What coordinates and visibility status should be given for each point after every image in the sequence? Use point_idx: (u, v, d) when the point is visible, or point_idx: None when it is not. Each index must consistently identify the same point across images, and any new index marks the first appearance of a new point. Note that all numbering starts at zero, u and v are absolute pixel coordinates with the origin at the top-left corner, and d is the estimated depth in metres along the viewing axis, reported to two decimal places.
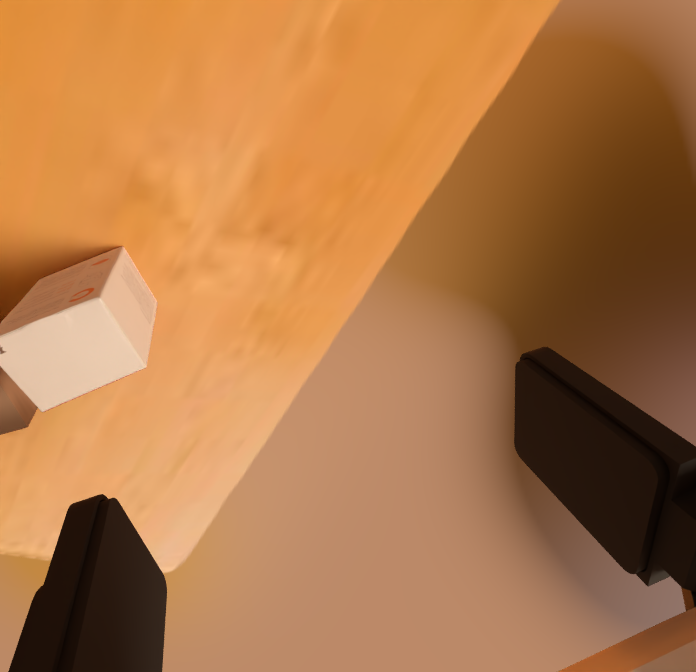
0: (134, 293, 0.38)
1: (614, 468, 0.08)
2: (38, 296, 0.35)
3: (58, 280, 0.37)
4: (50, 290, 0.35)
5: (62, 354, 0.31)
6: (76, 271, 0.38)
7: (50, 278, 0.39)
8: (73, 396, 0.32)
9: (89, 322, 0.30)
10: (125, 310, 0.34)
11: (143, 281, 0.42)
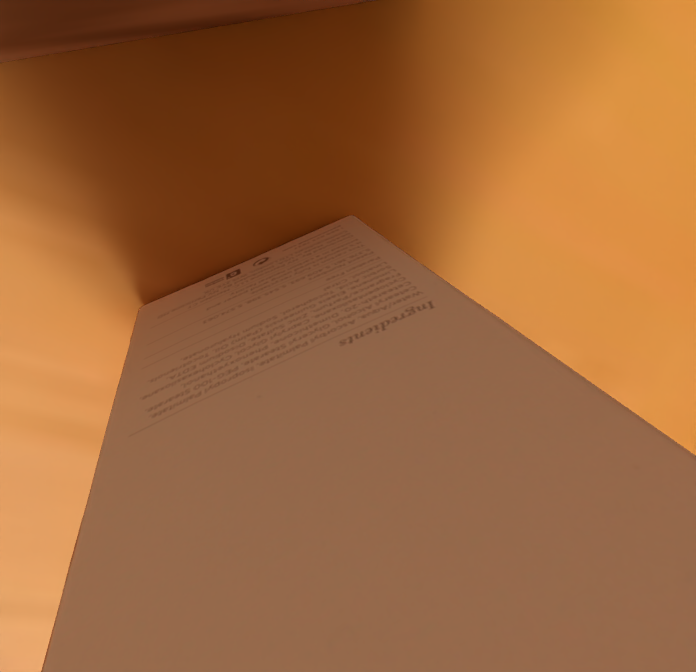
0: None
1: None
2: None
3: None
4: None
5: None
6: None
7: None
8: None
9: None
10: None
11: None
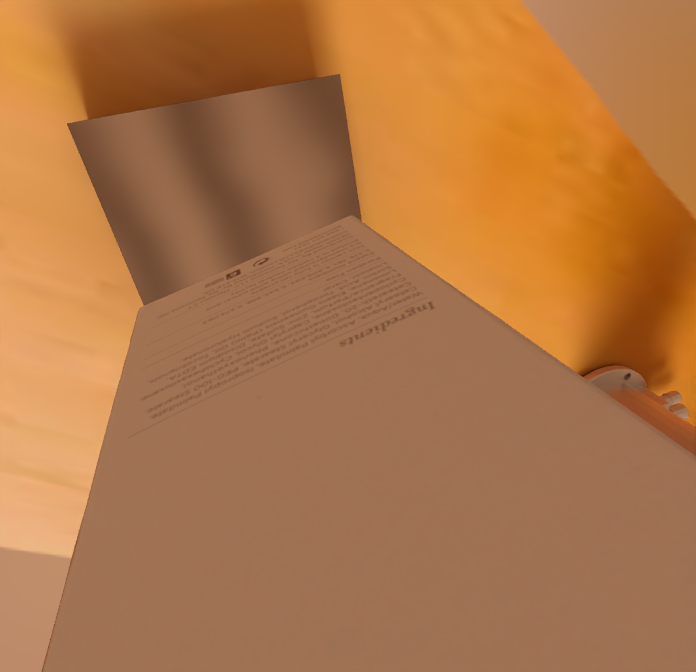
0: None
1: None
2: None
3: None
4: None
5: None
6: None
7: None
8: None
9: None
10: None
11: None
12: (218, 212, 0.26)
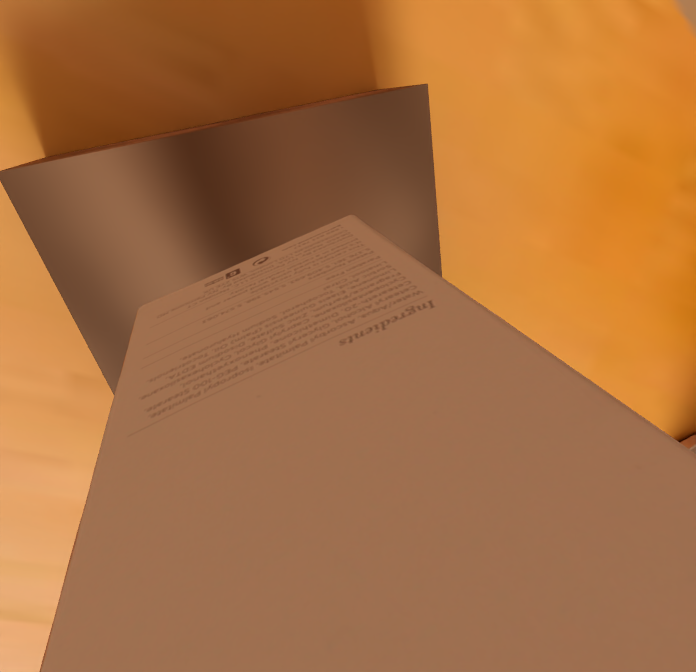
0: None
1: None
2: None
3: None
4: None
5: None
6: None
7: None
8: None
9: None
10: None
11: None
12: None
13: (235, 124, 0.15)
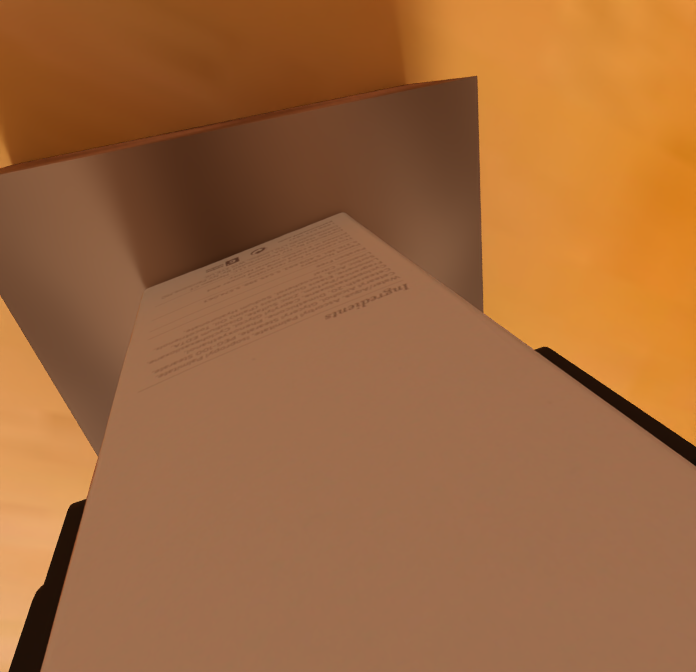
0: None
1: None
2: None
3: None
4: None
5: None
6: None
7: None
8: None
9: None
10: None
11: None
12: None
13: (242, 126, 0.12)
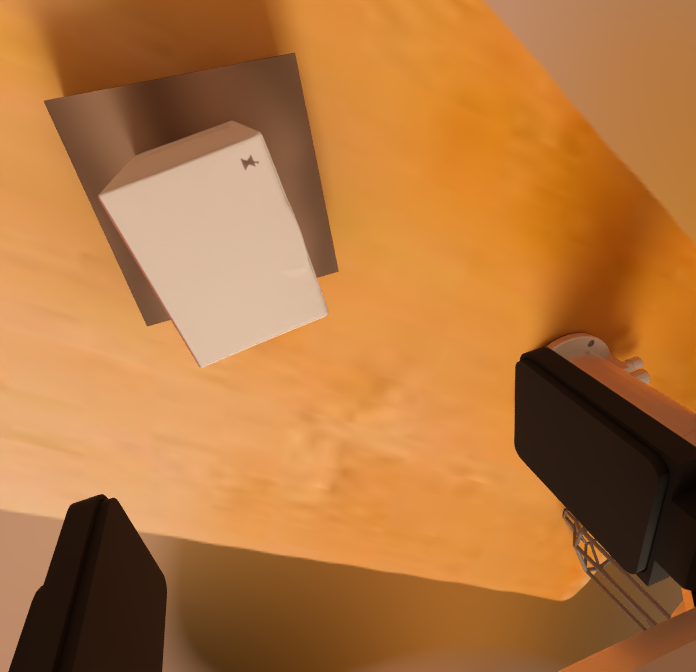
0: None
1: (614, 468, 0.08)
2: None
3: None
4: None
5: (236, 255, 0.18)
6: None
7: None
8: (139, 256, 0.17)
9: (291, 298, 0.19)
10: None
11: None
12: None
13: (178, 75, 0.25)
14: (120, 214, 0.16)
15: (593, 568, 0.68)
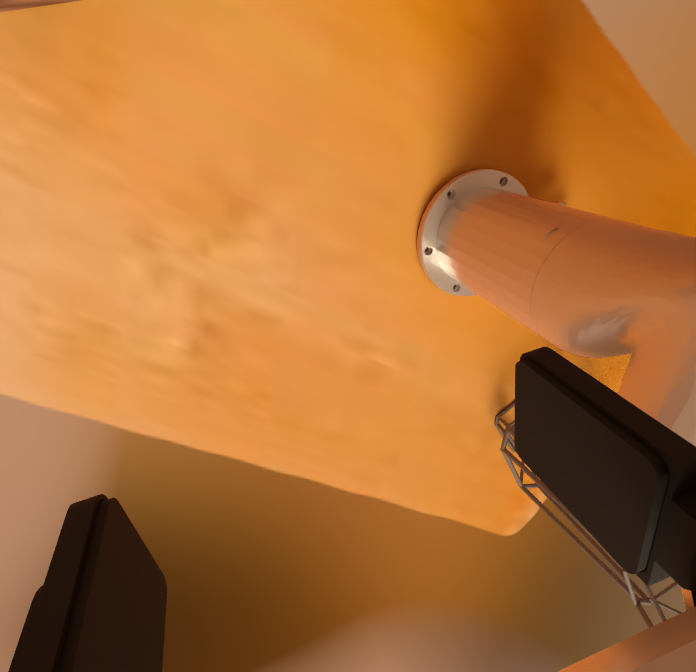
0: None
1: (615, 468, 0.08)
2: None
3: None
4: None
5: None
6: None
7: None
8: None
9: None
10: None
11: None
12: None
13: None
14: None
15: (530, 484, 0.59)
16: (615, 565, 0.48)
